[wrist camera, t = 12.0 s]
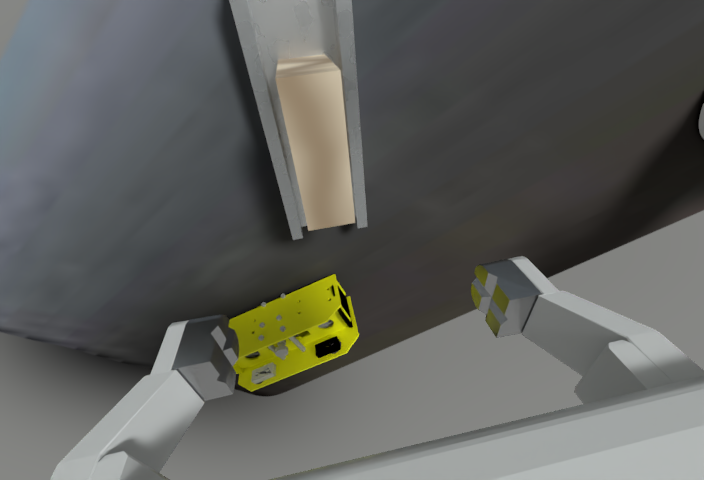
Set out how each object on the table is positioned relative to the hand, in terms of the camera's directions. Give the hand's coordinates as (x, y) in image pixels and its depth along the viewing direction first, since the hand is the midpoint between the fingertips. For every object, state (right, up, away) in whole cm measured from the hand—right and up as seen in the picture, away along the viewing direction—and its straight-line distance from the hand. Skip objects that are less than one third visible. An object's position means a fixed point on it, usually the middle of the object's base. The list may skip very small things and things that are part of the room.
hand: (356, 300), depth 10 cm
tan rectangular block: (-3, +12, +16) cm, 20 cm away
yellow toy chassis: (-9, -7, +30) cm, 32 cm away
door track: (-4, +12, +16) cm, 21 cm away
